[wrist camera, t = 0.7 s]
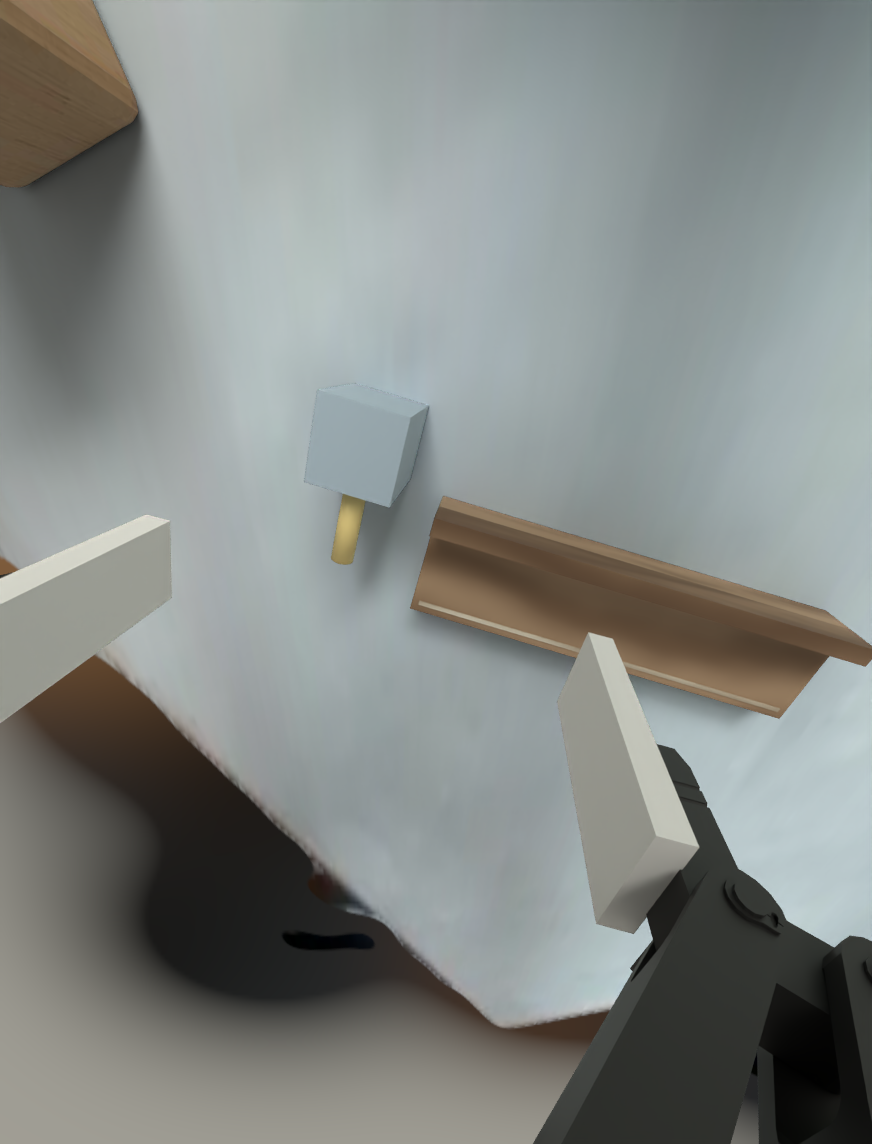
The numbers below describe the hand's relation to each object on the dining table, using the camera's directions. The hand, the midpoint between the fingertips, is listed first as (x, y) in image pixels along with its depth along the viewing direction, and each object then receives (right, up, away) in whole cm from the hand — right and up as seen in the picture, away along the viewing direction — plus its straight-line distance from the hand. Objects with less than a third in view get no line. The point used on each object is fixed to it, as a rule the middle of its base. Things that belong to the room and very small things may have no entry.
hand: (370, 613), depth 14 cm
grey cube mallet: (-2, +8, +18) cm, 20 cm away
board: (+15, -1, +20) cm, 25 cm away
